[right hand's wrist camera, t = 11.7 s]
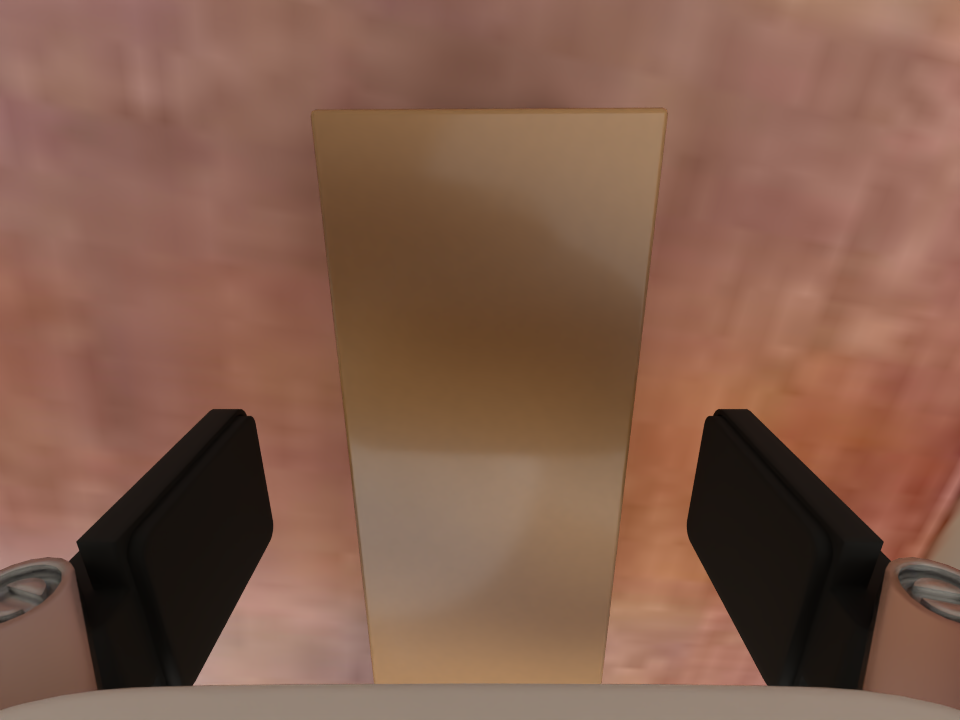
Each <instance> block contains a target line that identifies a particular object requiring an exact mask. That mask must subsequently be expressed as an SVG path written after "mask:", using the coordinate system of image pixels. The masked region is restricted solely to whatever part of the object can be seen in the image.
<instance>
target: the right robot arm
mask: <svg viewBox="0 0 960 720" xmlns="http://www.w3.org/2000/svg"><path fill="white" fill-rule="evenodd" d="M272 533H273V519H272V513H271V508H270V502H269V496H268V491H267V485H266V480H265V474H264V468H263V463H262V457H261V452H260V446H259V440H258V435H257V429H256V424H255V420H254V418H253V417H252V416H247V415H246V413H245V411H243V410H242V409H212V410H211V411H209V412H208V413H207V414H206V415H205V416H204V417H203V418H202V419H201V420H200V421H199V422H198V423H197V424H196V425H195V426H194V427H193V428H192V429H191V430H190V431H189V432H188V433H187V434H186V435H185V436H184V437H183V438H182V439H181V440H180V441H179V442H178V443H177V444H176V445H175V446H174V447H173V448H172V449H171V450H170V451H169V452H168V453H167V454H165V455H164V456H163V457H162V458H161V459H160V460H159V461H158V462H157V463H156V464H155V465H154V466H153V467H152V468H151V469H150V470H149V471H148V472H147V473H146V474H145V475H144V476H143V477H142V478H141V479H140V480H139V481H138V482H137V483H136V484H135V485H134V486H133V487H132V488H131V489H130V490H129V491H128V492H127V493H126V494H125V495H124V496H123V497H122V498H120V499H119V500H118V501H117V502H116V503H115V504H114V505H113V506H112V507H111V508H110V509H109V510H108V511H107V512H106V513H105V514H104V515H103V516H102V517H101V518H100V519H99V520H98V521H97V522H96V523H95V524H94V525H93V526H92V527H91V528H90V529H89V530H88V531H87V532H86V533H85V534H84V535H83V536H82V537H81V538H80V539H79V540H78V541H77V545H78V548H79V552H78V553H77V554H76V555H75V556H74V557H73V558H72V559H71V560H70V561H69V562H68V561H66V560H64V559H62V558H50V557H46V558H39V559H32V560H28V561H24V562H21V563H18V564H14V565H11V566H9V567H7V568H4V569H2V570H0V720H960V570H958V569H956V568H953V567H951V566H949V565H946V564H942V563H939V562H935V561H932V560H928V559H921V558H914V557H910V558H898V559H896V560H894V561H892V562H891V561H890V560H889V559H888V558H887V557H886V556H885V555H884V554H883V553H882V552H881V548H882V545H883V541H882V540H881V539H880V538H879V537H878V536H877V535H876V534H875V533H874V532H873V531H872V530H871V529H870V528H869V527H868V526H867V525H866V524H865V523H864V522H863V521H862V520H861V519H860V518H859V517H858V516H857V515H856V514H855V513H854V512H853V511H852V510H851V509H850V508H849V507H848V506H847V505H846V504H845V503H844V502H843V501H842V500H841V499H840V498H838V497H837V496H836V495H835V494H834V493H833V492H832V491H831V490H830V489H829V488H828V487H827V486H826V485H825V484H824V483H823V482H822V481H821V480H820V479H819V478H818V477H817V476H816V475H815V474H814V473H813V472H812V471H811V470H810V469H809V468H808V467H807V466H806V465H805V464H804V463H803V462H802V461H801V460H800V459H799V458H798V457H797V456H796V455H795V454H793V453H792V452H791V451H790V450H789V449H788V448H787V447H786V446H785V445H784V444H783V443H782V442H781V441H780V440H779V439H778V438H777V437H776V436H775V435H774V434H773V433H772V432H771V431H770V430H769V429H768V428H767V427H766V426H765V425H764V424H763V423H762V422H761V421H760V420H759V419H758V418H757V417H756V416H755V415H754V414H753V413H752V412H751V411H749V410H747V409H718V410H717V411H715V413H714V415H713V416H708V417H707V418H706V420H705V424H704V429H703V435H702V440H701V446H700V452H699V457H698V463H697V468H696V474H695V480H694V485H693V491H692V496H691V502H690V508H689V513H688V519H687V533H688V537H689V540H690V542H691V544H692V546H693V548H694V550H695V551H696V553H697V555H698V557H699V559H700V561H701V563H702V565H703V566H704V568H705V570H706V572H707V574H708V576H709V578H710V580H711V581H712V583H713V585H714V587H715V589H716V591H717V593H718V595H719V596H720V598H721V600H722V602H723V604H724V606H725V608H726V610H727V612H728V613H729V615H730V617H731V619H732V621H733V623H734V625H735V627H736V628H737V630H738V632H739V634H740V636H741V638H742V640H743V642H744V643H745V645H746V647H747V649H748V651H749V653H750V655H751V657H752V658H753V660H754V662H755V664H756V666H757V668H758V670H759V672H760V673H761V675H762V677H763V679H764V681H765V682H766V684H767V685H768V686H757V685H678V684H498V683H461V684H282V685H203V686H192V685H193V684H194V682H195V681H196V679H197V677H198V675H199V673H200V672H201V670H202V668H203V666H204V664H205V662H206V660H207V658H208V657H209V655H210V653H211V651H212V649H213V647H214V645H215V643H216V642H217V640H218V638H219V636H220V634H221V632H222V630H223V628H224V627H225V625H226V623H227V621H228V619H229V617H230V615H231V613H232V612H233V610H234V608H235V606H236V604H237V602H238V600H239V598H240V596H241V595H242V593H243V591H244V589H245V587H246V585H247V583H248V581H249V580H250V578H251V576H252V574H253V572H254V570H255V568H256V566H257V565H258V563H259V561H260V559H261V557H262V555H263V553H264V551H265V550H266V548H267V546H268V544H269V542H270V540H271V537H272Z"/></svg>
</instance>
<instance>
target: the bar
mask: <svg viewBox="0 0 960 720" xmlns="http://www.w3.org/2000/svg"><path fill="white" fill-rule="evenodd" d="M667 116H668V113H667V110H666V109H664V108H523V109H345V110H314V111H312V113H311V123H312V132H313V141H314V150H315V159H316V168H317V176H318V185H319V194H320V203H321V212H322V221H323V230H324V239H325V248H326V257H327V266H328V275H329V284H330V293H331V302H332V311H333V320H334V329H335V338H336V347H337V356H338V364H339V373H340V382H341V391H342V400H343V409H344V418H345V427H346V436H347V445H348V454H349V463H350V472H351V481H352V490H353V499H354V508H355V517H356V526H357V535H358V544H359V552H360V561H361V570H362V579H363V588H364V597H365V606H366V615H367V624H368V633H369V642H370V651H371V660H372V669H373V678H374V684H461V683H498V684H601V682H602V674H603V665H604V657H605V648H606V639H607V631H608V622H609V614H610V605H611V596H612V588H613V579H614V571H615V562H616V554H617V545H618V536H619V528H620V519H621V511H622V502H623V494H624V485H625V476H626V468H627V459H628V451H629V442H630V433H631V425H632V416H633V408H634V399H635V391H636V382H637V373H638V365H639V356H640V348H641V339H642V331H643V322H644V313H645V305H646V296H647V288H648V279H649V270H650V262H651V253H652V245H653V236H654V228H655V219H656V210H657V202H658V193H659V185H660V176H661V168H662V159H663V150H664V142H665V133H666V125H667Z"/></svg>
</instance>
